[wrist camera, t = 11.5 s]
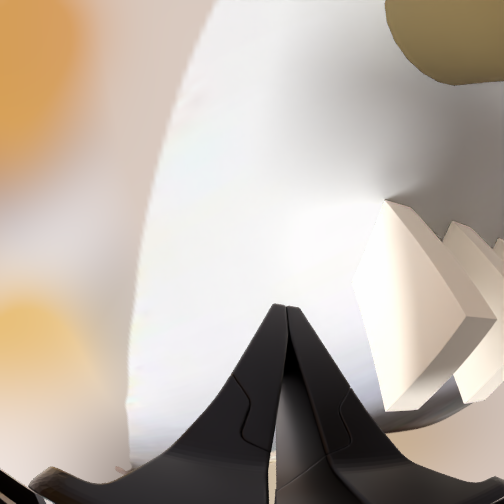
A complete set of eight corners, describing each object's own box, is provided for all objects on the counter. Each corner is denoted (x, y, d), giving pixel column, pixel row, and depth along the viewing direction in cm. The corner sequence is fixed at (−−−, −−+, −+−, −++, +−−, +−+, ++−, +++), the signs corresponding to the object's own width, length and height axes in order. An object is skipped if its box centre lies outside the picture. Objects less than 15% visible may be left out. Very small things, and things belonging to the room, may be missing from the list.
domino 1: (411, 207, 13) (497, 319, 6) (376, 286, 16) (417, 409, 9) (384, 199, 13) (466, 316, 6) (351, 282, 16) (385, 411, 9)
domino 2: (470, 227, 13) (551, 323, 6) (434, 295, 16) (483, 400, 9) (451, 220, 13) (536, 322, 6) (416, 292, 16) (464, 403, 9)
